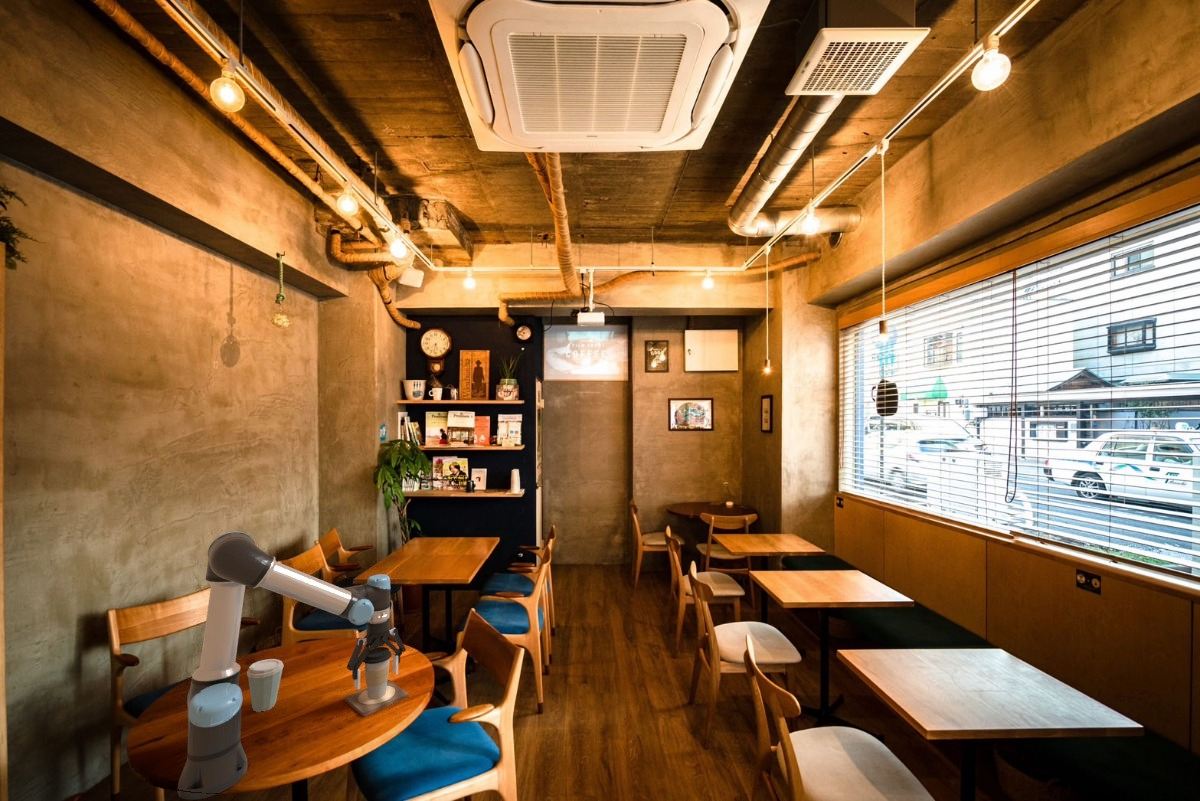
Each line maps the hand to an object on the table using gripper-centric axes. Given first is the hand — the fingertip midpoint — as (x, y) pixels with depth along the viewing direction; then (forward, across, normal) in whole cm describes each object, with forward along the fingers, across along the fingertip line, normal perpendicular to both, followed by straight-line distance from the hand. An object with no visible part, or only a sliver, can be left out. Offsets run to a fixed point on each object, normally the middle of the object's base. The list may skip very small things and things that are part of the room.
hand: (376, 680), depth 177 cm
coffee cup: (+5, 0, 0) cm, 5 cm away
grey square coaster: (+6, 0, 0) cm, 6 cm away
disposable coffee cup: (+7, -28, +24) cm, 37 cm away
